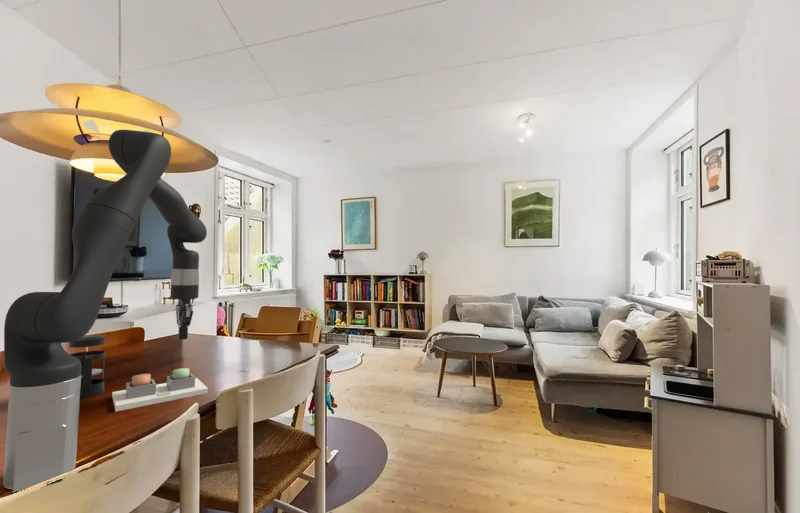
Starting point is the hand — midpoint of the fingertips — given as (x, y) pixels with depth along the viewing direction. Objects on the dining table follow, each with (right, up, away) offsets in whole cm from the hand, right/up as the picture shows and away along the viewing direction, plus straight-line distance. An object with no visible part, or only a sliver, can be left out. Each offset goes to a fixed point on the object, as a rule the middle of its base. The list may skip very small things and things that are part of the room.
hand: (182, 338), depth 109 cm
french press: (-27, -16, -5) cm, 31 cm away
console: (-4, -16, -4) cm, 17 cm away
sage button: (0, -13, -1) cm, 13 cm away
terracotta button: (-8, -12, -7) cm, 16 cm away
